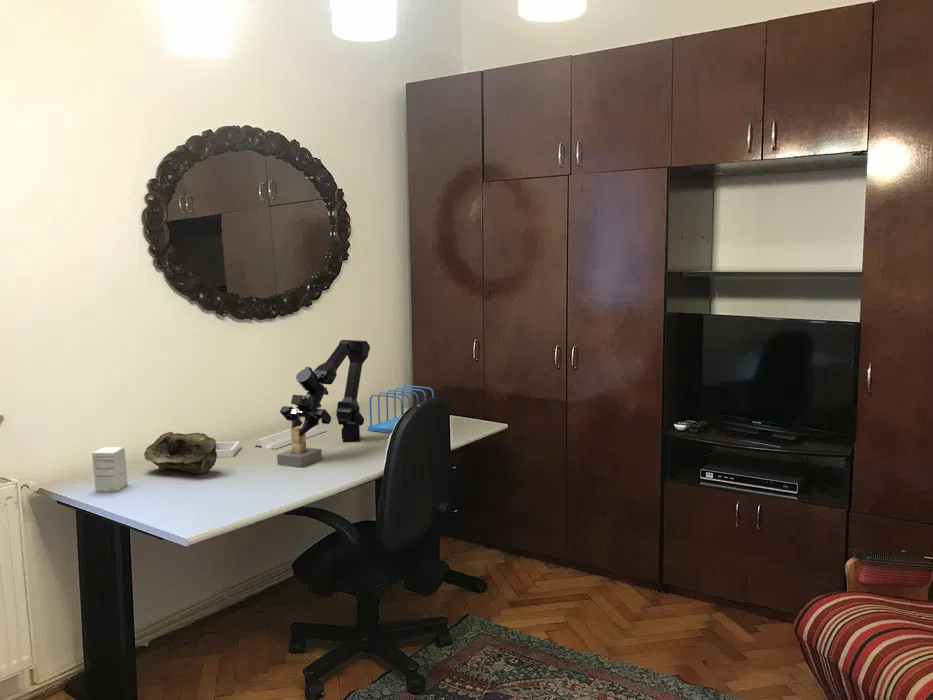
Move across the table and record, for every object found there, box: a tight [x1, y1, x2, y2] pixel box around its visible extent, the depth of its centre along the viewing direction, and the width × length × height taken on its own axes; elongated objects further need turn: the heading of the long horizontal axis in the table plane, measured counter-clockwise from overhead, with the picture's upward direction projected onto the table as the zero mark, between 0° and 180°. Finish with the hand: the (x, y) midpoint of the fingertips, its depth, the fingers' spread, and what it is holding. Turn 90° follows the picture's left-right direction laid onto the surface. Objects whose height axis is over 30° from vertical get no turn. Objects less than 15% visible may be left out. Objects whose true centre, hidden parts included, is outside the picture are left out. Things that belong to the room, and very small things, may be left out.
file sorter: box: [367, 385, 435, 434], centre depth 329 cm, size 25×17×15 cm
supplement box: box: [91, 446, 129, 493], centre depth 252 cm, size 7×7×13 cm
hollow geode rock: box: [143, 431, 218, 475], centre depth 270 cm, size 28×13×15 cm
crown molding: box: [251, 424, 328, 450], centre depth 314 cm, size 31×12×4 cm, turn 153°
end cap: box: [276, 447, 323, 468], centre depth 279 cm, size 12×10×4 cm
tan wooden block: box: [290, 426, 307, 454], centre depth 278 cm, size 4×3×10 cm
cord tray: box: [216, 441, 241, 458], centre depth 294 cm, size 13×13×2 cm
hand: (296, 435), depth 277 cm, fingers closed on tan wooden block, 3 cm apart
